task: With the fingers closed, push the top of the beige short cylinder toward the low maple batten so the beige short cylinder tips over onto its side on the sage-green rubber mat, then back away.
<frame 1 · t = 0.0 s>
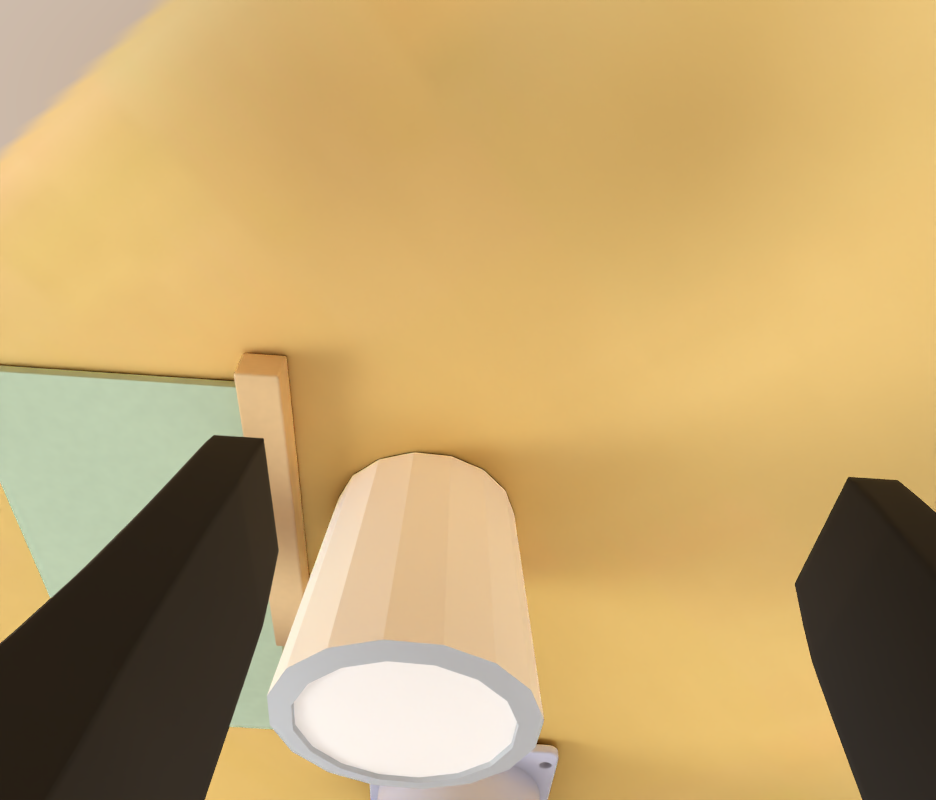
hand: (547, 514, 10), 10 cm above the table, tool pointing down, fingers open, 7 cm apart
stop batten: (283, 509, 24), on the table
beige short cylinder: (426, 513, 25), on the table
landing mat: (161, 580, 27), on the table
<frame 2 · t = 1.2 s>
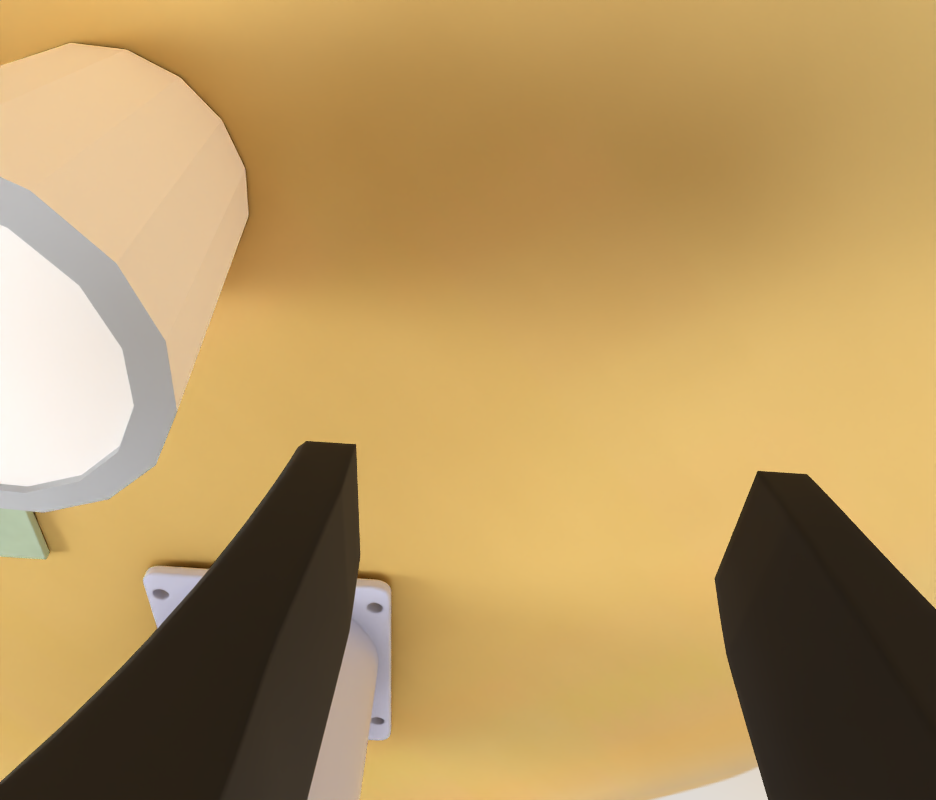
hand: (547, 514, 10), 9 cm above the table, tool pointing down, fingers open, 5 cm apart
beige short cylinder: (125, 175, 17), on the table
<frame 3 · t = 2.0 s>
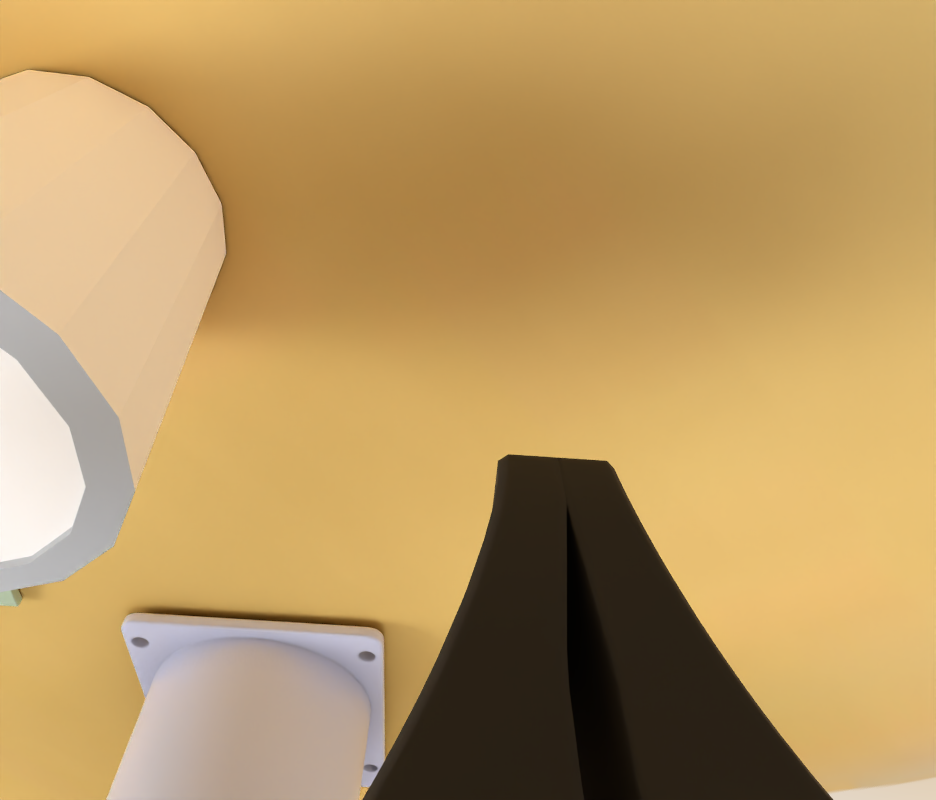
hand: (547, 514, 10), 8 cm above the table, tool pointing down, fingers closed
beige short cylinder: (92, 210, 16), on the table
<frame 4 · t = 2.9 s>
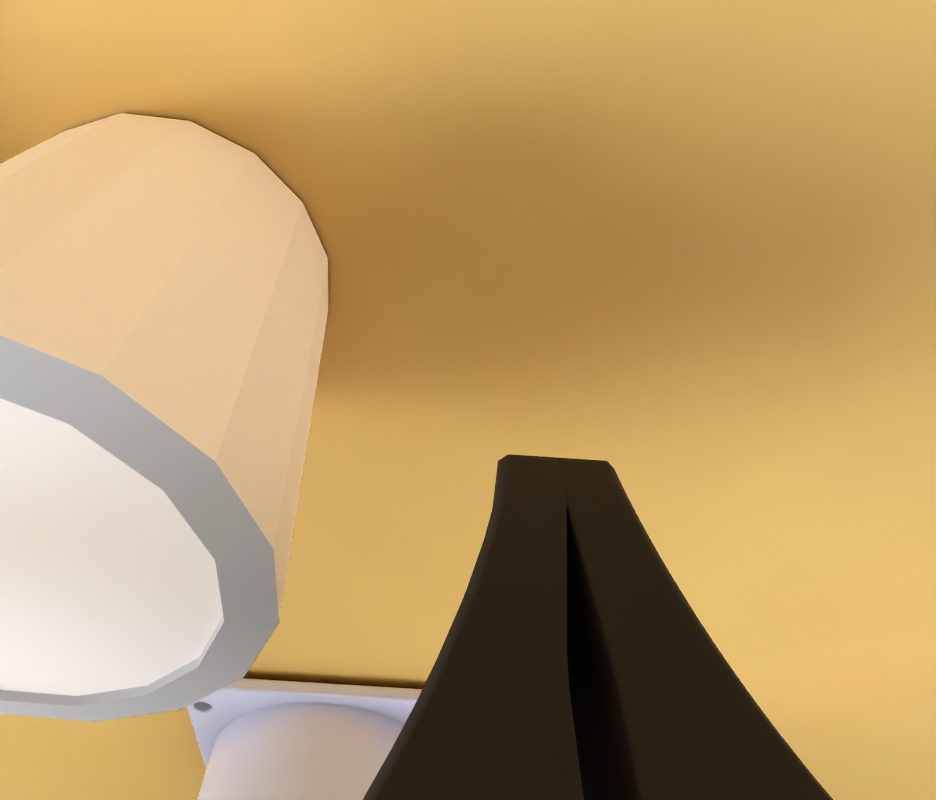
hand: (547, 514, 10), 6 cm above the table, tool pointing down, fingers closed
beige short cylinder: (180, 263, 14), on the table
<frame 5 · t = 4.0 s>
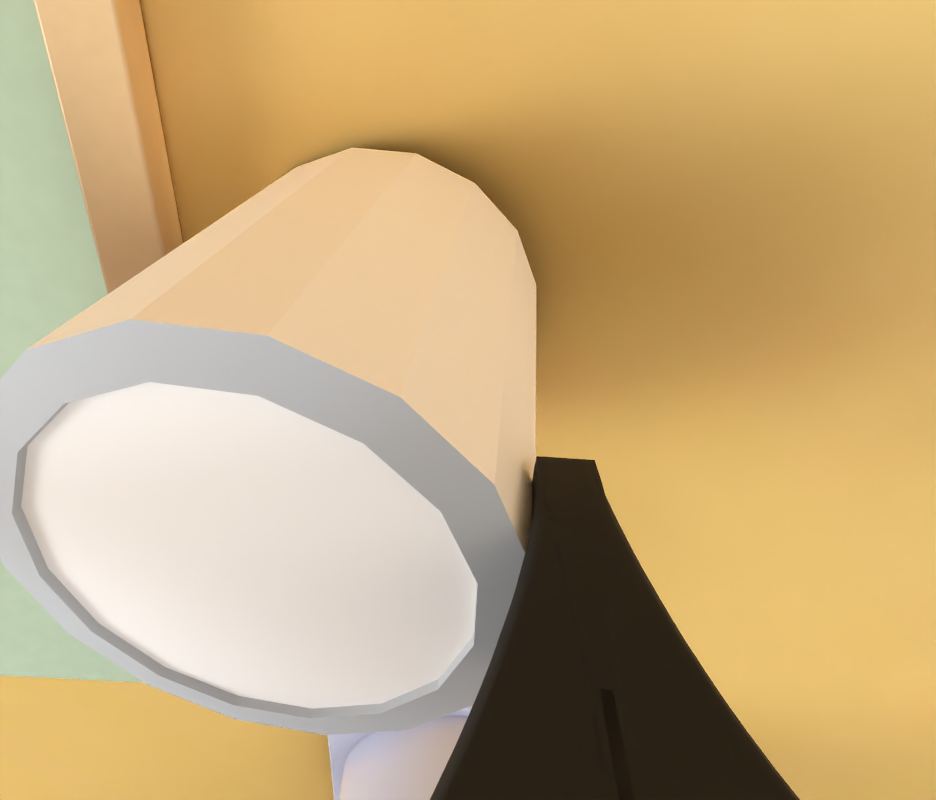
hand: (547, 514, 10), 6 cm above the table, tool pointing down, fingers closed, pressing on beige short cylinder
stop batten: (161, 285, 15), on the table
beige short cylinder: (391, 290, 15), on the table, touching gripper
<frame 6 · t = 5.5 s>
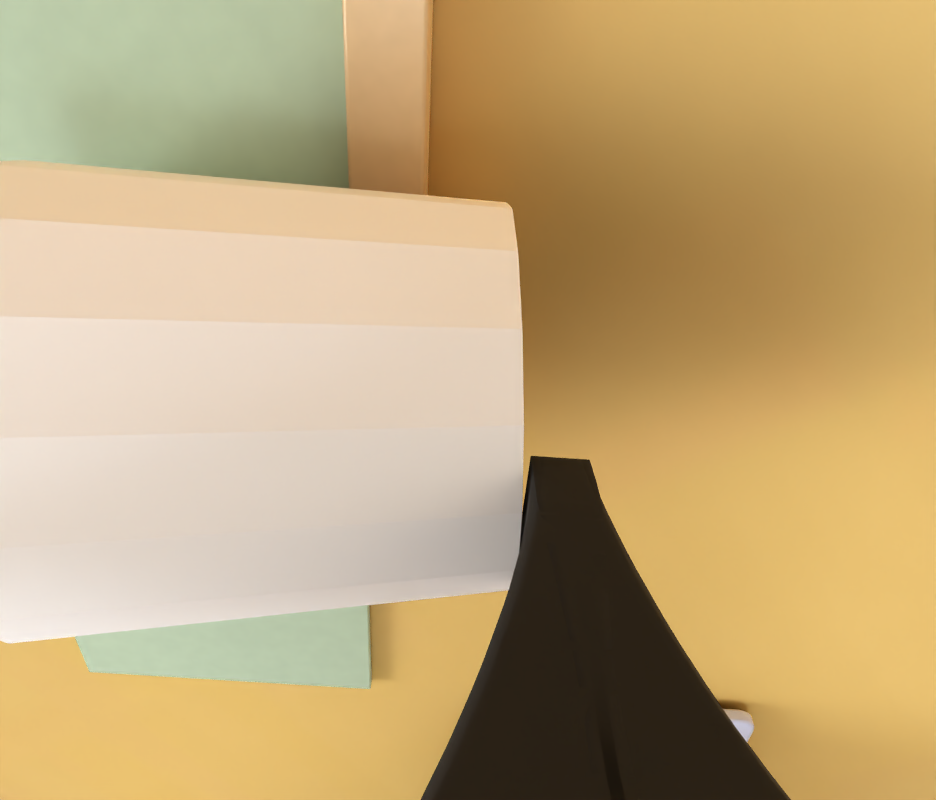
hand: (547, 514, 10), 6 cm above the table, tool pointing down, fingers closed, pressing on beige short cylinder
stop batten: (392, 285, 14), on the table
beige short cylinder: (520, 395, 12), point 3 cm above the table, touching gripper, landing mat
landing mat: (180, 433, 17), on the table
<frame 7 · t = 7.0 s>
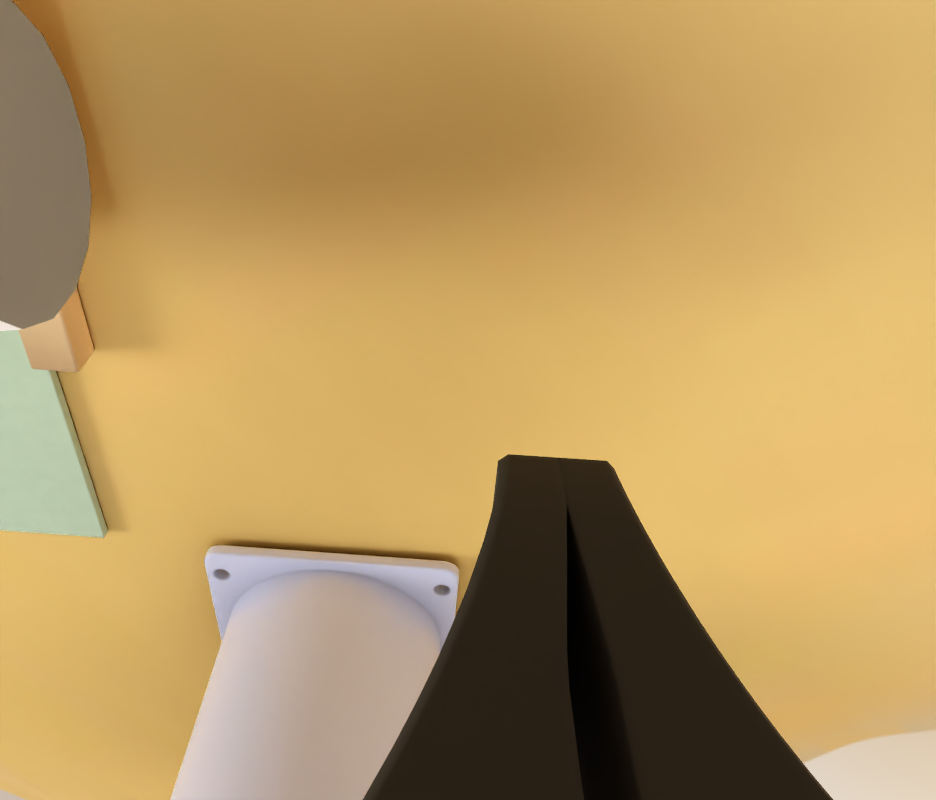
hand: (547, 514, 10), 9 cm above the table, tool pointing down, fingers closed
stop batten: (1, 114, 16), on the table
beige short cylinder: (27, 166, 13), point 3 cm above the table, touching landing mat, stop batten
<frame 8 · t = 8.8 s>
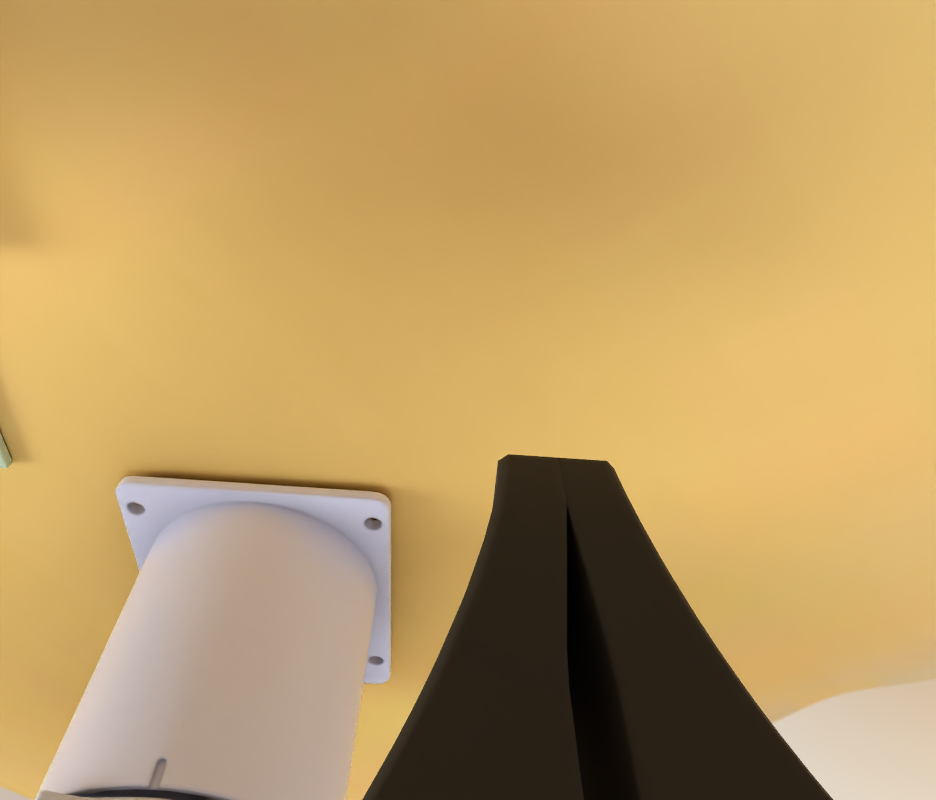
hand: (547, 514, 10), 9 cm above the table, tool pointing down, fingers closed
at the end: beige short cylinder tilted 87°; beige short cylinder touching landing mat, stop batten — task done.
